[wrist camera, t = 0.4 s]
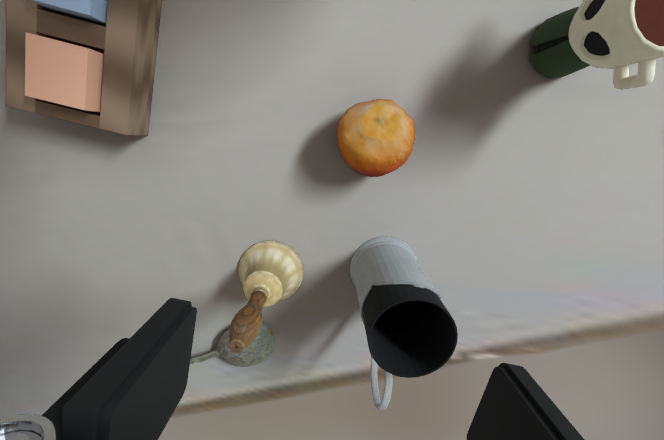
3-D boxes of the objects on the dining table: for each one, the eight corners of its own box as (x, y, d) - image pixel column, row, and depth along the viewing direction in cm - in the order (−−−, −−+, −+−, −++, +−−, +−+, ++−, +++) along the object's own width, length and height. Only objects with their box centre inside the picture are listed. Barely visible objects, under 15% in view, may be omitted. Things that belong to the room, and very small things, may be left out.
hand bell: (225, 263, 41) (163, 338, 26) (278, 228, 40) (246, 284, 25) (264, 311, 43) (228, 409, 28) (316, 279, 42) (308, 362, 27)
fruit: (331, 187, 38) (336, 154, 30) (336, 127, 40) (341, 82, 32) (400, 193, 38) (422, 162, 30) (401, 133, 40) (422, 90, 32)
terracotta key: (52, 41, 33) (25, 32, 30) (109, 56, 33) (88, 48, 30) (51, 99, 34) (24, 95, 31) (105, 112, 34) (84, 110, 31)
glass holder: (426, 244, 41) (479, 304, 26) (395, 341, 44) (427, 440, 30) (359, 229, 40) (375, 282, 26) (333, 328, 44) (335, 423, 29)
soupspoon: (283, 348, 46) (268, 307, 45) (280, 363, 42) (264, 319, 41) (136, 390, 46) (117, 350, 45) (121, 408, 43) (101, 365, 42)
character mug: (521, -2, 34) (632, -83, 22) (589, -15, 34) (743, -105, 21) (523, 106, 37) (624, 90, 24) (587, 94, 37) (722, 72, 24)
